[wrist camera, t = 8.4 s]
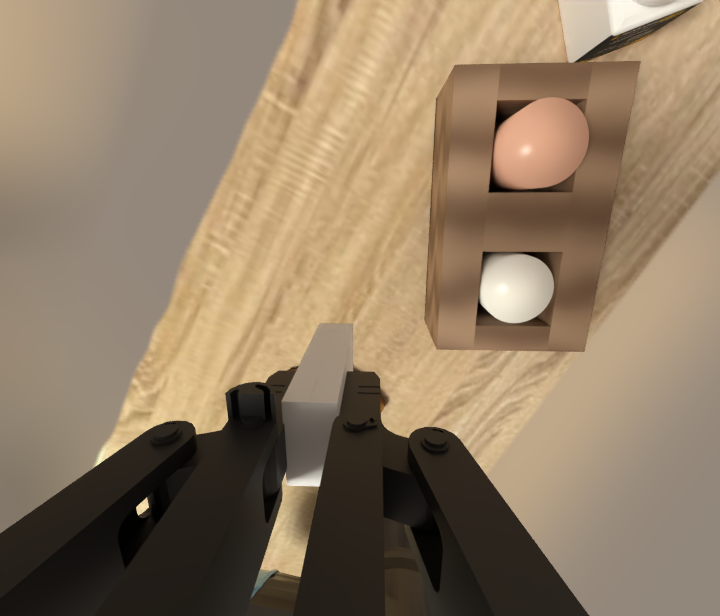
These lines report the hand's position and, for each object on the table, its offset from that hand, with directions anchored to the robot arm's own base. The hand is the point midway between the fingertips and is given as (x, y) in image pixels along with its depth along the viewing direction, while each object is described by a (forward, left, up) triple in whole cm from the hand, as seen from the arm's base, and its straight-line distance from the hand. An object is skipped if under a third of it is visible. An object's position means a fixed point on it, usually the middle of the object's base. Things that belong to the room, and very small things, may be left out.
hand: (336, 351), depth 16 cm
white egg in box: (-1, -15, -25) cm, 29 cm away
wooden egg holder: (+5, -15, -26) cm, 30 cm away
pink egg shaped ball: (+11, -15, -24) cm, 30 cm away
